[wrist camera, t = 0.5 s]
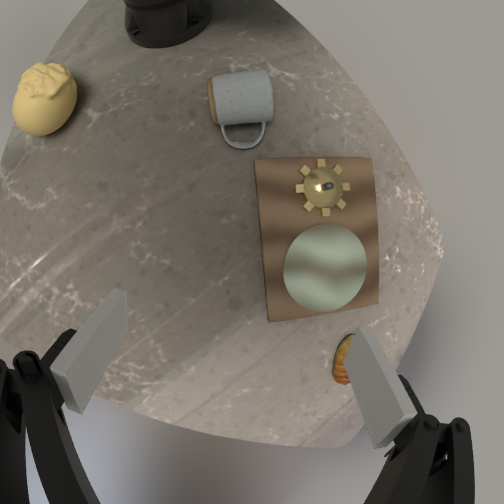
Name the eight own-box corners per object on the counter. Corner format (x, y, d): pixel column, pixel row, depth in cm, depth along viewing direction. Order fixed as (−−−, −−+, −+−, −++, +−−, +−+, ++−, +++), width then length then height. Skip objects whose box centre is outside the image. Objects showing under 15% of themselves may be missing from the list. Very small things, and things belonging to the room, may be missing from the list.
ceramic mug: (207, 90, 35) (203, 66, 27) (261, 83, 35) (268, 59, 28) (217, 154, 37) (215, 141, 29) (273, 146, 37) (285, 132, 30)
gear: (290, 161, 36) (297, 155, 32) (343, 160, 37) (354, 155, 33) (296, 218, 37) (303, 218, 34) (348, 214, 38) (359, 214, 34)
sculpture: (98, 89, 33) (69, 61, 22) (57, 150, 33) (19, 137, 23) (62, 71, 31) (33, 46, 20) (26, 126, 32) (-10, 112, 21)
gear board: (253, 161, 37) (255, 158, 35) (366, 159, 38) (373, 157, 36) (267, 318, 40) (269, 323, 38) (373, 301, 42) (379, 304, 40)
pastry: (353, 380, 44) (361, 391, 40) (321, 377, 43) (328, 389, 39) (373, 336, 43) (383, 345, 39) (342, 331, 42) (351, 340, 38)
